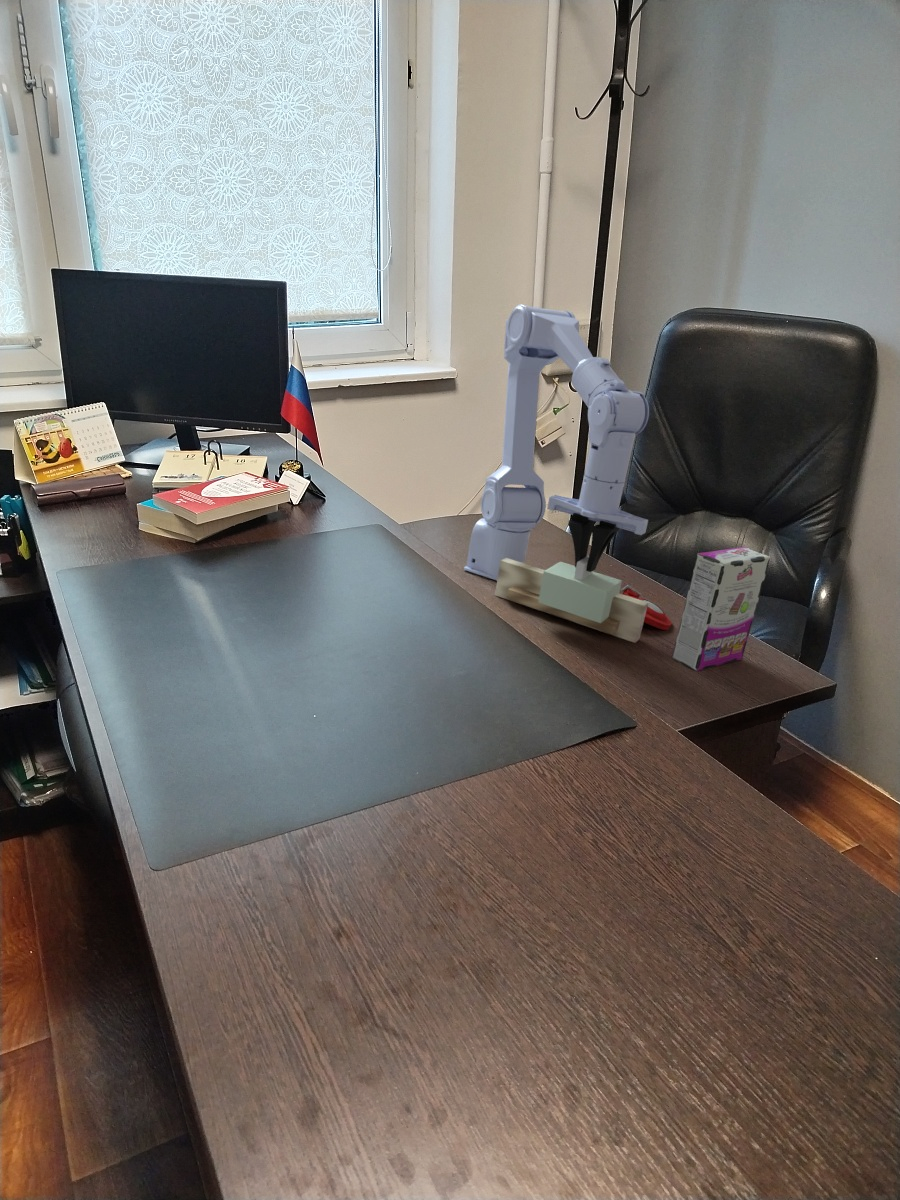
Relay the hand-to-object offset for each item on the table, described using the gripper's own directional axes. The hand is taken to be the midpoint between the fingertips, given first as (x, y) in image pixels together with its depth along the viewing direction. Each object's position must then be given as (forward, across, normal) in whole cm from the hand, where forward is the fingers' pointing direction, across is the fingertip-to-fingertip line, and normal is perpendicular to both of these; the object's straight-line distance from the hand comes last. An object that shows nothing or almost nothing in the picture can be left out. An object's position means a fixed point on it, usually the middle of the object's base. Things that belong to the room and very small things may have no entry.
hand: (585, 568), depth 122 cm
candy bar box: (+10, +19, +6) cm, 22 cm away
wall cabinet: (+6, 0, 0) cm, 6 cm away
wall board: (+10, -3, +4) cm, 11 cm away
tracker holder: (+10, +6, +15) cm, 19 cm away
